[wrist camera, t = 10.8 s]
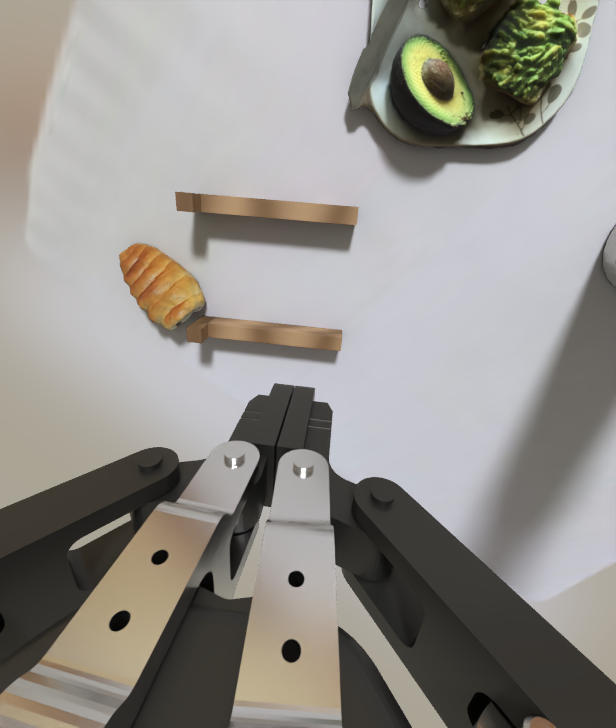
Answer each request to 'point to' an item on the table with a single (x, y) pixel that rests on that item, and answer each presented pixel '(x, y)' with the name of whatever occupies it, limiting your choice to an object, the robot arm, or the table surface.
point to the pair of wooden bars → (255, 329)
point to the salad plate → (471, 68)
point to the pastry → (160, 285)
